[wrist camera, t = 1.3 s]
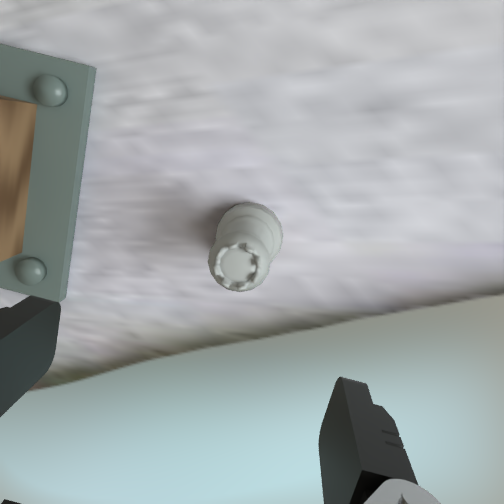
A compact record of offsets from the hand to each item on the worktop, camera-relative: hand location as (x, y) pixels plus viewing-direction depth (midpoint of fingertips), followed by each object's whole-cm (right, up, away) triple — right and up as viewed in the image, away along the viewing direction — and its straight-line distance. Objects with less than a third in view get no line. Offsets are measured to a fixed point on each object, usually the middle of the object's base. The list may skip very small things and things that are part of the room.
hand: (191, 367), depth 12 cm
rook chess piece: (+2, +5, +18) cm, 18 cm away
